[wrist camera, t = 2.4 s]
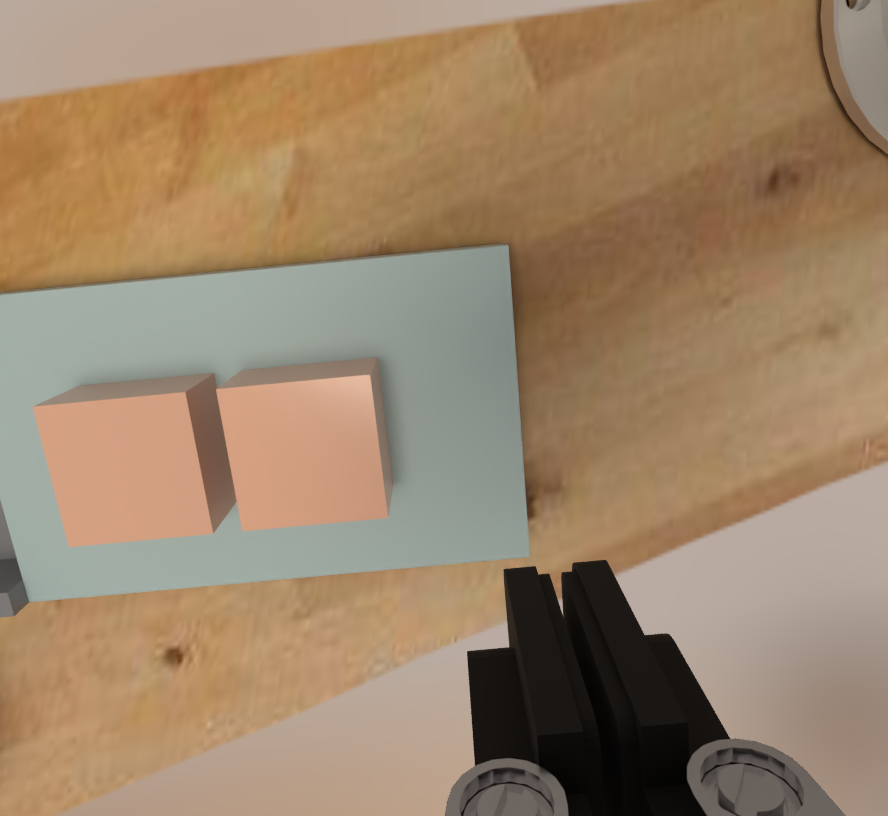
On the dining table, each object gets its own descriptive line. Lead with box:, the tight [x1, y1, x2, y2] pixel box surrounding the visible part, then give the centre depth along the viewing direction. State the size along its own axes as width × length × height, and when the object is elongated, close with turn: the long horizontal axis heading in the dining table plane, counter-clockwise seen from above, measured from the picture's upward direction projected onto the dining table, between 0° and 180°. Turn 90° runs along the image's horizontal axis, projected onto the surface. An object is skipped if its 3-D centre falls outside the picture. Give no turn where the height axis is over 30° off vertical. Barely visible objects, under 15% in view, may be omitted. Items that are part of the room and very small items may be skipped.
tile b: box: [33, 373, 237, 547], centre depth 24 cm, size 5×5×3 cm
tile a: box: [216, 357, 394, 531], centre depth 24 cm, size 5×5×3 cm
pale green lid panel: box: [0, 243, 530, 602], centre depth 27 cm, size 20×12×2 cm, turn 95°
